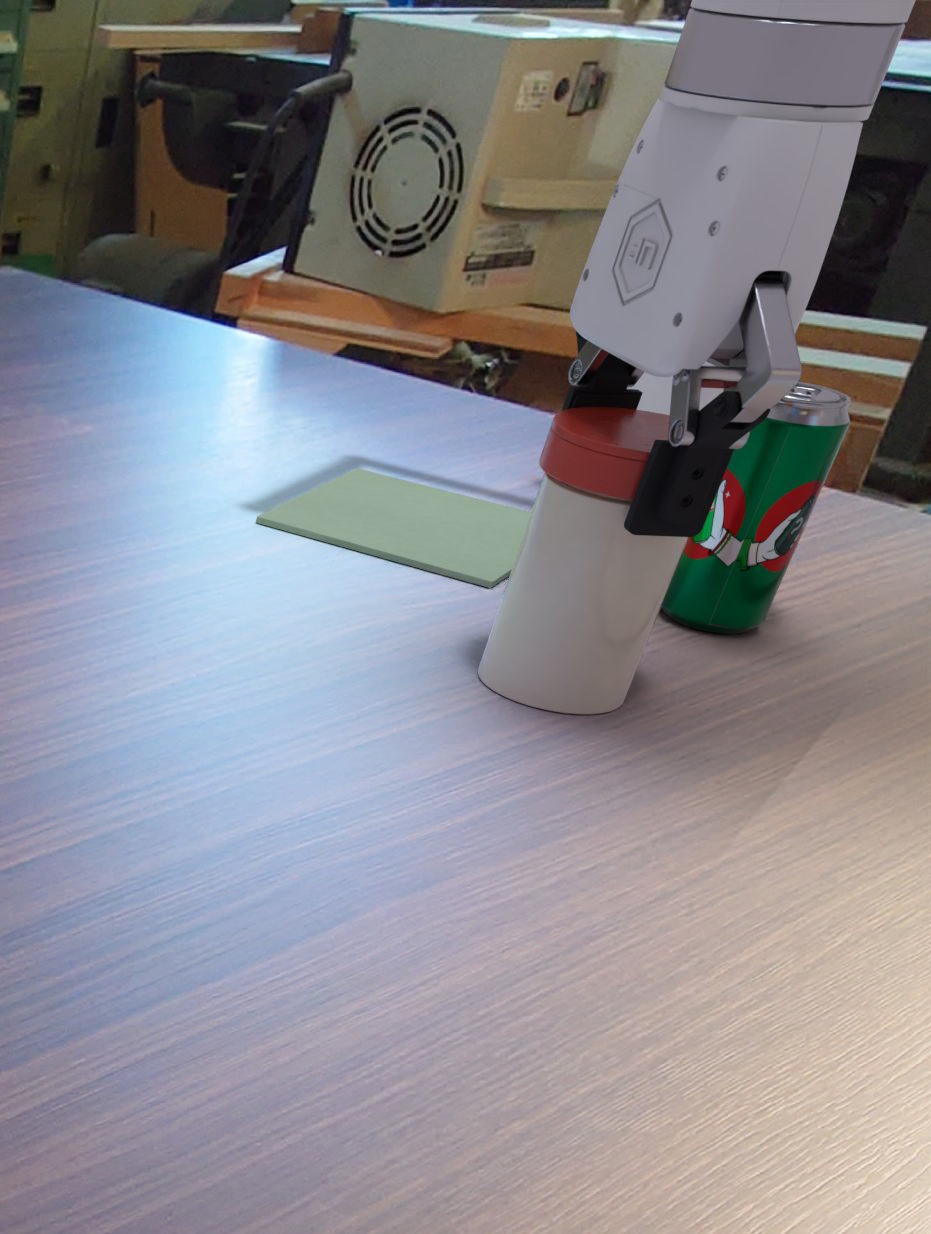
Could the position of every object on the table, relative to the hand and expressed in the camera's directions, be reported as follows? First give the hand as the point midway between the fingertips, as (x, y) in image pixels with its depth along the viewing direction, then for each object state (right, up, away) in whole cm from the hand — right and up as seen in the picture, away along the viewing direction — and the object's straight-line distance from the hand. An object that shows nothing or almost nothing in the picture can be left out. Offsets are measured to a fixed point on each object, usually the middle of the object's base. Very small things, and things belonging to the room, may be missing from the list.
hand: (617, 500), depth 77 cm
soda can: (+12, -3, +13) cm, 18 cm away
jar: (0, -8, +5) cm, 9 cm away
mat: (+2, +5, +24) cm, 25 cm away
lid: (0, +2, -2) cm, 3 cm away
